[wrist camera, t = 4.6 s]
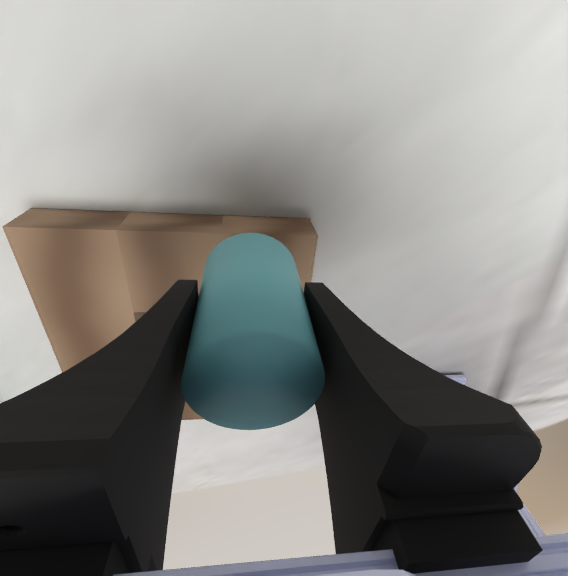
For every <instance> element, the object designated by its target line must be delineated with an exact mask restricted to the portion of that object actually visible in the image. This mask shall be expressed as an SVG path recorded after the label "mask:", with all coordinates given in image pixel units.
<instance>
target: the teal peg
mask: <svg viewBox="0 0 568 576" xmlns="http://www.w3.org/2000/svg"><path fill="white" fill-rule="evenodd" d="M324 383H325V372H324V367H323V364H322V360H321V356H320V352H319V349H318V345H317V341H316V338H315V334H314V330H313V327H312V323H311V319H310V315H309V312H308V308H307V304H306V301H305V297H304V293H303V289H302V286H301V282H300V278H299V275H298V271H297V267H296V264H295V261H294V258H293V256H292V254H291V253H290V251H289V250H288V249H287V248H286V247H285V246H284V245H283V244H282V243H281V242H279V241H278V240H276V239H275V238H273V237H270V236H268V235H264V234H259V233H241V234H237V235H234V236H231V237H229V238H227V239H225V240H223V241H222V242H220V243H219V244H218V245H217V246H216V247H215V248H214V249H213V250H212V251H211V253H210V254H209V256H208V258H207V260H206V263H205V268H204V273H203V277H202V282H201V287H200V292H199V297H198V302H197V307H196V311H195V316H194V321H193V326H192V331H191V336H190V341H189V346H188V350H187V355H186V360H185V365H184V370H183V375H182V381H181V387H182V393H183V396H184V399H185V400H186V402H187V404H188V405H189V406H190V408H191V409H192V410H193V411H194V412H195V413H196V414H198V415H199V416H201V417H202V418H204V419H205V420H207V421H209V422H211V423H214V424H216V425H219V426H223V427H227V428H232V429H240V430H256V429H265V428H270V427H275V426H278V425H281V424H284V423H287V422H289V421H291V420H293V419H295V418H297V417H299V416H300V415H302V414H303V413H305V412H306V411H307V410H309V409H310V408H311V407H312V406H313V405H314V404H315V402H316V401H317V400H318V398H319V397H320V395H321V393H322V390H323V388H324Z"/></svg>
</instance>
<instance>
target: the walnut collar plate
mask: <svg viewBox="0 0 568 576" xmlns="http://www.w3.org/2000/svg"><path fill="white" fill-rule="evenodd" d="M3 229H4V232H5V234H6V236H7V239H8V241H9V244H10V246H11V249H12V251H13V253H14V256H15V258H16V261H17V263H18V266H19V268H20V270H21V273H22V275H23V278H24V280H25V283H26V285H27V287H28V290H29V292H30V295H31V297H32V300H33V302H34V304H35V307H36V309H37V312H38V314H39V317H40V319H41V321H42V324H43V326H44V329H45V331H46V334H47V336H48V338H49V341H50V343H51V346H52V348H53V351H54V353H55V356H56V358H57V360H58V363H59V365H60V368H61V370H62V373H63V372H65V371H66V370H68V369H69V368H71V367H73V366H74V365H76V364H78V363H79V362H81V361H83V360H84V359H86V358H88V357H89V356H91V355H92V354H94V353H96V352H97V351H99V350H100V349H102V348H103V347H104V346H106V345H107V344H109V343H110V342H111V341H113V340H114V339H116V338H117V337H118V336H119V335H121V334H122V333H123V332H124V331H126V330H127V329H128V328H129V327H130V326H131V325H133V324H134V323H135V322H136V321H137V320H138V319H139V318H141V317H142V316H143V315H144V314H145V313H146V312H147V311H148V310H149V309H150V308H151V307H152V306H153V305H154V304H155V303H156V302H157V301H158V300H159V299H160V298H161V297H162V296H163V295H164V294H165V293H166V292H167V291H168V290H169V289H170V288H171V286H172V285H173V284H174V283H175V282H176V281H178V280H197V281H198V297H199V292H200V287H201V282H202V277H203V273H204V268H205V263H206V260H207V258H208V256H209V254H210V253H211V251H212V250H213V249H214V248H215V247H216V246H217V245H218V244H219V243H220V242H222V241H223V240H225V239H227V238H229V237H231V236H234V235H237V234H241V233H259V234H264V235H268V236H270V237H273V238H275V239H276V240H278V241H279V242H281V243H282V244H283V245H284V246H285V247H286V248H287V249H288V250H289V251H290V253H291V254H292V256H293V258H294V261H295V264H296V267H297V271H298V275H299V278H300V282H301V286H302V289H303V293H304V286H305V282H311V278H312V271H313V264H314V257H315V250H316V243H317V234H316V232H315V230H314V227H313V225H312V223H311V221H310V219H307V218H280V217H253V216H226V215H200V214H173V213H146V212H119V211H93V210H66V209H39V208H31V209H29V210H28V211H26V212H25V213H23V214H22V215H20V216H18V217H17V218H15V219H14V220H12V221H11V222H9V223H8V224H6V225H4V226H3ZM191 419H204V418H202V417H201V416H199V415H198V414H196V413H195V412H194V411H193V410H192V409H191V408H190V406H189V405H188V404H187V402H185V406H184V410H183V415H182V420H191Z"/></svg>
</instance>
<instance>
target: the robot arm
mask: <svg viewBox="0 0 568 576" xmlns="http://www.w3.org/2000/svg"><path fill="white" fill-rule="evenodd" d="M304 297H305V301H306V304H307V308H308V312H309V315H310V319H311V323H312V327H313V330H314V334H315V338H316V341H317V345H318V349H319V352H320V356H321V360H322V364H323V367H324V372H325V383H324V388H323V390H322V393H321V395H320V397H319V398H318V400H317V401H316V402H315V406H316V410H317V415H318V419H319V426H320V432H321V439H322V445H323V452H324V459H325V466H326V473H327V479H328V488H329V496H330V505H331V513H332V521H333V531H334V540H335V549H336V554H335V555H324V556H313V557H302V558H291V559H280V560H270V561H258V562H247V563H236V564H225V565H214V566H203V567H192V568H181V569H170V570H163V561H164V552H165V543H166V534H167V525H168V516H169V508H170V500H171V491H172V483H173V476H174V468H175V460H176V453H177V446H178V439H179V432H180V425H181V420H182V415H183V410H184V406H185V402H186V400H185V399H184V396H183V393H182V387H181V381H182V375H183V370H184V365H185V360H186V355H187V350H188V346H189V341H190V336H191V331H192V326H193V321H194V316H195V311H196V307H197V302H198V281H197V280H178V281H176V282H175V283H174V284H173V285H172V286H171V288H170V289H169V290H168V291H167V292H166V293H165V294H164V295H163V296H162V297H161V298H160V299H159V300H158V301H157V302H156V303H155V304H154V305H153V306H152V307H151V308H150V309H149V310H148V311H147V312H146V313H145V314H144V315H143V316H142V317H141V318H139V319H138V320H137V321H136V322H135V323H134V324H133V325H131V326H130V327H129V328H128V329H127V330H126V331H124V332H123V333H122V334H121V335H119V336H118V337H117V338H116V339H114V340H113V341H111V342H110V343H109V344H107V345H106V346H104V347H103V348H102V349H100V350H99V351H97V352H96V353H94V354H92V355H91V356H89V357H88V358H86V359H84V360H83V361H81V362H79V363H78V364H76V365H74V366H73V367H71V368H69V369H68V370H66V371H65V372H63V373H61V374H59V375H57V376H55V377H54V378H52V379H50V380H48V381H46V382H44V383H42V384H40V385H38V386H36V387H34V388H32V389H30V390H28V391H26V392H24V393H22V394H20V395H18V396H16V397H14V398H12V399H10V400H7V401H5V402H3V403H1V404H0V576H568V533H565V534H554V535H545V534H544V532H543V531H542V529H541V528H540V526H539V525H538V524H537V522H536V520H535V519H534V518H533V516H532V514H531V513H530V512H529V510H528V509H527V507H526V506H525V505H524V503H523V502H522V501H521V499H520V497H519V496H518V495H517V490H518V483H519V482H520V481H521V480H522V479H523V478H524V476H525V475H526V474H527V473H528V472H529V471H530V470H531V469H532V468H533V467H534V465H535V464H536V462H537V461H538V459H539V456H540V453H541V448H542V446H541V443H540V439H539V438H538V437H537V436H536V434H535V433H534V432H533V431H532V429H531V428H530V427H529V426H528V425H527V423H526V422H525V421H524V420H523V418H522V417H521V416H520V415H519V413H518V412H517V411H516V410H515V408H514V407H513V406H512V405H510V404H507V403H505V402H503V401H500V400H498V399H495V398H493V397H491V396H488V395H486V394H483V393H481V392H479V391H476V390H474V389H471V388H469V387H467V386H465V383H466V382H467V378H466V377H465V376H464V375H443V374H441V373H439V372H437V371H435V370H433V369H431V368H429V367H428V366H426V365H424V364H423V363H421V362H419V361H417V360H416V359H414V358H412V357H411V356H409V355H407V354H406V353H404V352H403V351H401V350H400V349H398V348H397V347H395V346H394V345H393V344H391V343H390V342H388V341H387V340H385V339H384V338H383V337H381V336H380V335H379V334H377V333H376V332H375V331H374V330H372V329H371V328H370V327H369V326H368V325H366V324H365V323H364V322H363V321H362V320H361V319H359V318H358V317H357V316H356V315H355V314H354V313H353V312H352V311H351V310H350V309H348V308H347V307H346V306H345V305H344V304H343V303H342V302H341V301H340V300H339V299H338V298H337V297H336V296H335V295H334V294H333V293H332V292H331V291H330V290H329V289H328V288H327V287H326V286H325V285H324V284H323V283H311V282H305V286H304Z"/></svg>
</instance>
